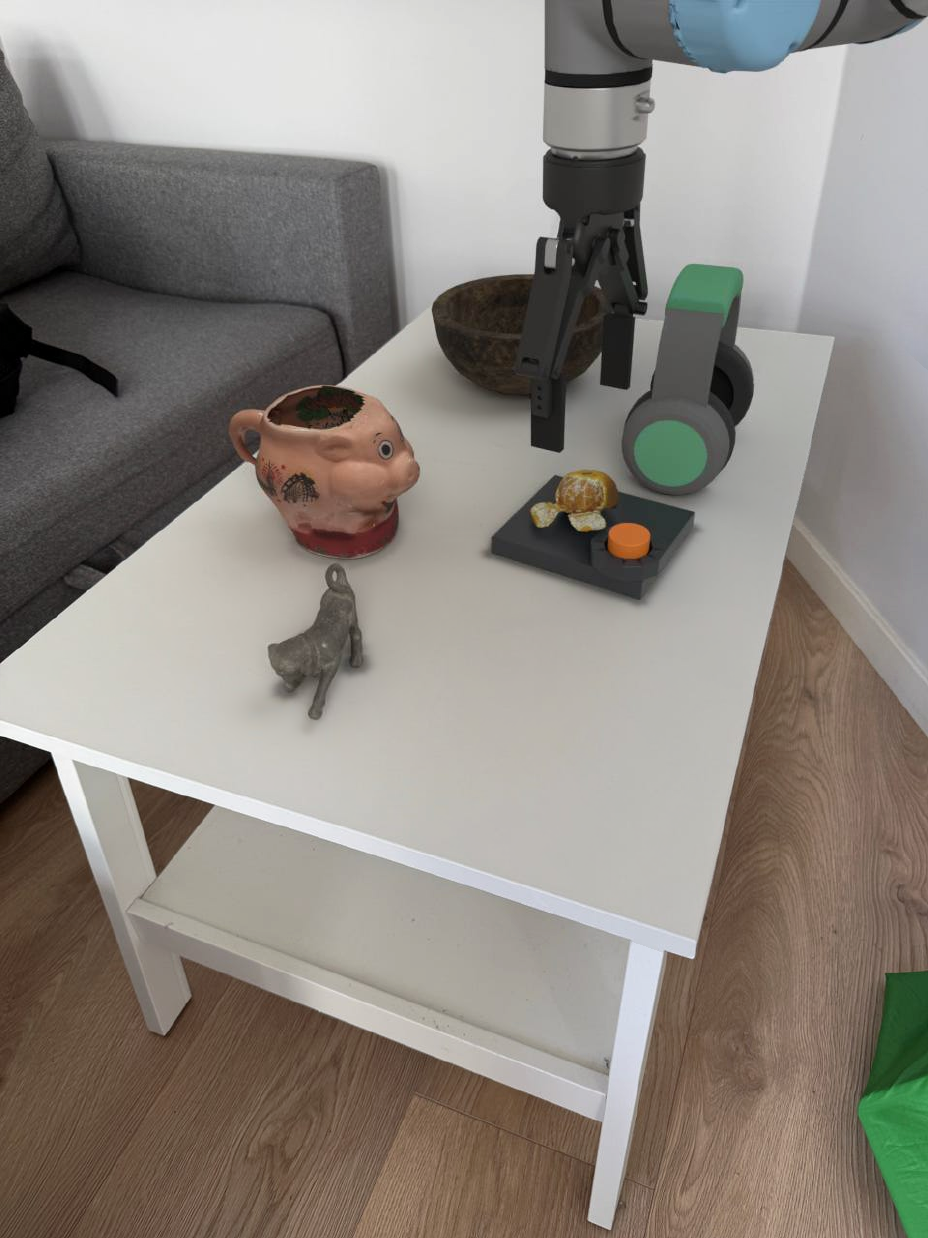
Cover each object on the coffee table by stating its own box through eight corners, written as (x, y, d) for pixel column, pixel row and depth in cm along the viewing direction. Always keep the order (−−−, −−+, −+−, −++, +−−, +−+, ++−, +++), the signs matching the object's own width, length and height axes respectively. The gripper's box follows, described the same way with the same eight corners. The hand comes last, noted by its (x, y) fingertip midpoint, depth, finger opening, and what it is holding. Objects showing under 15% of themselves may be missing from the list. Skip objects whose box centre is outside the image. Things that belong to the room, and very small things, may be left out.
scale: (700, 530, 88) (705, 499, 86) (644, 607, 79) (648, 574, 77) (554, 490, 95) (555, 460, 93) (487, 557, 86) (486, 525, 84)
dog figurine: (317, 623, 79) (305, 552, 74) (380, 634, 77) (371, 562, 73) (254, 720, 70) (236, 646, 65) (324, 733, 68) (310, 659, 64)
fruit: (520, 524, 86) (517, 487, 84) (568, 492, 91) (565, 457, 90) (597, 537, 81) (594, 498, 79) (642, 503, 87) (641, 466, 85)
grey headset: (654, 413, 107) (673, 236, 95) (749, 428, 104) (782, 246, 91) (611, 493, 94) (626, 298, 81) (718, 512, 90) (752, 312, 78)
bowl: (560, 437, 104) (563, 352, 97) (402, 398, 113) (395, 319, 107) (636, 367, 118) (643, 289, 112) (490, 338, 127) (489, 264, 121)
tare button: (655, 543, 81) (656, 529, 80) (639, 564, 79) (640, 549, 78) (617, 533, 83) (618, 518, 82) (600, 553, 80) (601, 538, 79)
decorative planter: (211, 550, 88) (177, 418, 79) (271, 488, 97) (247, 362, 88) (403, 585, 83) (390, 447, 74) (448, 515, 92) (441, 385, 83)
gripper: (564, 191, 57) (556, 489, 70) (703, 118, 74) (676, 370, 87) (462, 181, 60) (473, 467, 73) (616, 113, 77) (603, 357, 90)
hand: (582, 415), depth 80 cm, fingers open, 13 cm apart
